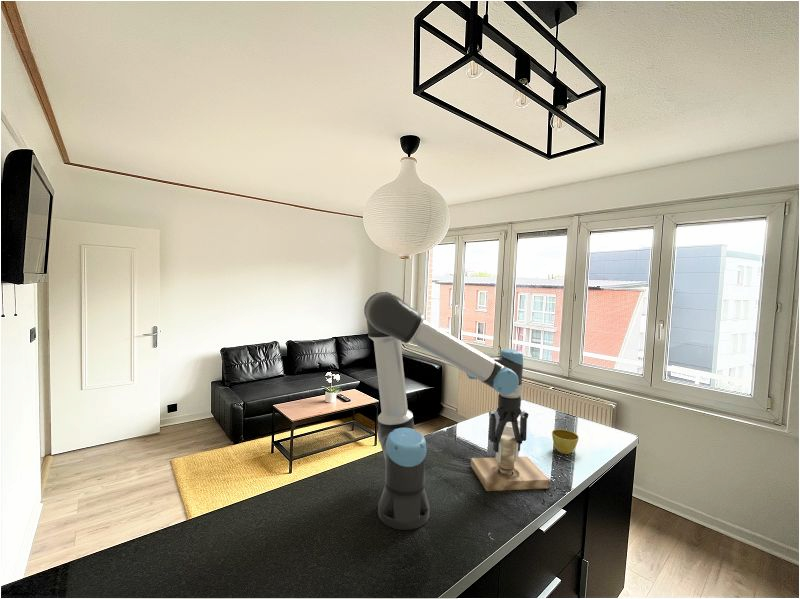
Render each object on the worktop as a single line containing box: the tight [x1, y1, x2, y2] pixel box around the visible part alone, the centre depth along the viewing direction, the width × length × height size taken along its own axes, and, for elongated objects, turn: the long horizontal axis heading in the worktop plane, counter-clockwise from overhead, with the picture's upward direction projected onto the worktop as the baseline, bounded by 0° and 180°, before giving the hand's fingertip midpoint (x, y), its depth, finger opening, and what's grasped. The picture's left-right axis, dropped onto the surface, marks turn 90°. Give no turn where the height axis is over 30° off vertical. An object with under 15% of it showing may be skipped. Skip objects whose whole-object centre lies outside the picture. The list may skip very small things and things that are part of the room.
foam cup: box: [502, 419, 522, 456], centre depth 148 cm, size 10×9×13 cm
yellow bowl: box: [551, 428, 580, 455], centre depth 152 cm, size 10×10×7 cm
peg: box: [498, 435, 516, 476], centre depth 128 cm, size 6×6×13 cm
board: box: [470, 455, 550, 492], centre depth 131 cm, size 22×16×3 cm
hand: (506, 460), depth 129 cm, fingers closed on peg, 5 cm apart
